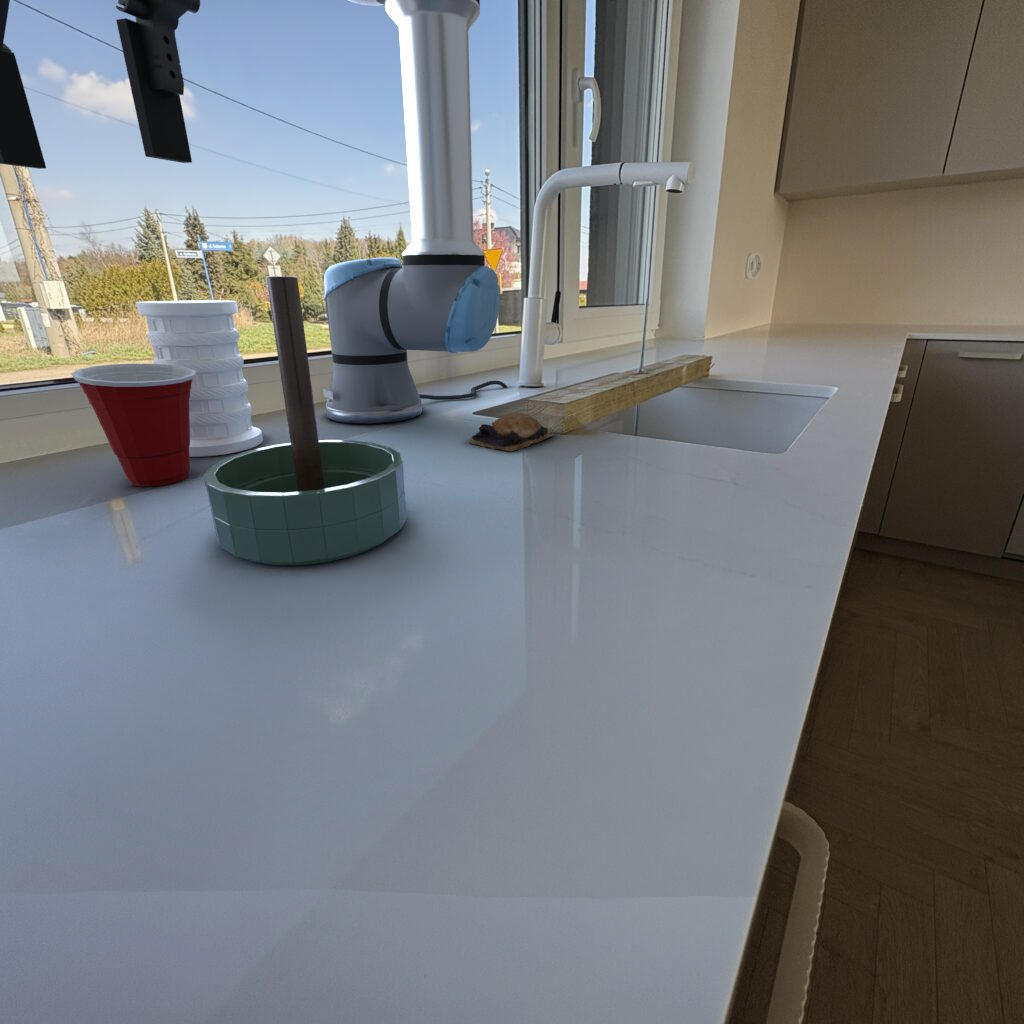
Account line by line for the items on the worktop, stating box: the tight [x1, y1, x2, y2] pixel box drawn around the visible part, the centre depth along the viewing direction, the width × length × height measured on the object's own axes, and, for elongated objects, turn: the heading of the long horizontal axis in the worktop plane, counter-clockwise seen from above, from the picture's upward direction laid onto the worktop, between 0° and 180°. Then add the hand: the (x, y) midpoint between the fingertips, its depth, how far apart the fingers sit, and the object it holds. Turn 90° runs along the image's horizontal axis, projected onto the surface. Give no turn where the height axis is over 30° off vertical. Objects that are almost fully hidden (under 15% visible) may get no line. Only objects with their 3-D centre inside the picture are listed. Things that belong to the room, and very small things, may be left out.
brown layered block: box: [468, 412, 554, 453], centre depth 78 cm, size 11×8×4 cm
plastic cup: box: [70, 363, 196, 488], centre depth 61 cm, size 11×11×12 cm
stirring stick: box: [265, 275, 325, 492], centre depth 46 cm, size 5×5×20 cm
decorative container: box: [135, 299, 264, 458], centre depth 73 cm, size 12×12×18 cm
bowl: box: [203, 439, 408, 566], centre depth 49 cm, size 16×16×6 cm
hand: (92, 163), depth 37 cm, fingers open, 13 cm apart
